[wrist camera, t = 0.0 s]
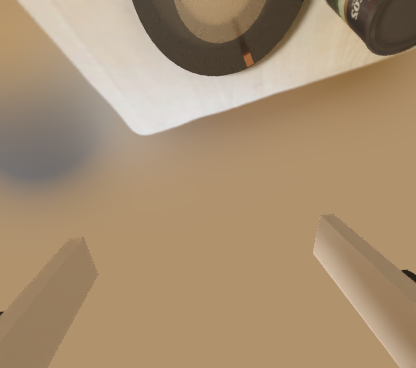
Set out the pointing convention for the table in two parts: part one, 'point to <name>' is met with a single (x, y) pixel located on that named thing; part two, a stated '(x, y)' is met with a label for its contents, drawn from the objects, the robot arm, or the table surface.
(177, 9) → the turntable platter
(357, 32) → the coffee can
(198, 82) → the table surface
